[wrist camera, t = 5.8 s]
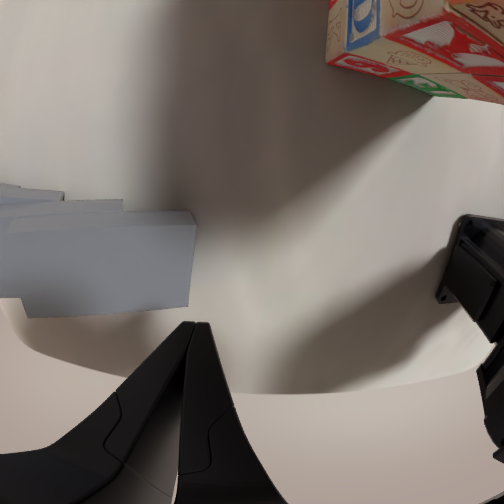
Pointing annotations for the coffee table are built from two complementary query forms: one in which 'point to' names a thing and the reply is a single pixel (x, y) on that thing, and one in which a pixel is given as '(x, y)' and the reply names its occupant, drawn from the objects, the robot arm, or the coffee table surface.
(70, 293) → the domino
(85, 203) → the domino
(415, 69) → the stack of blocks
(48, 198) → the domino
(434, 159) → the coffee table surface
